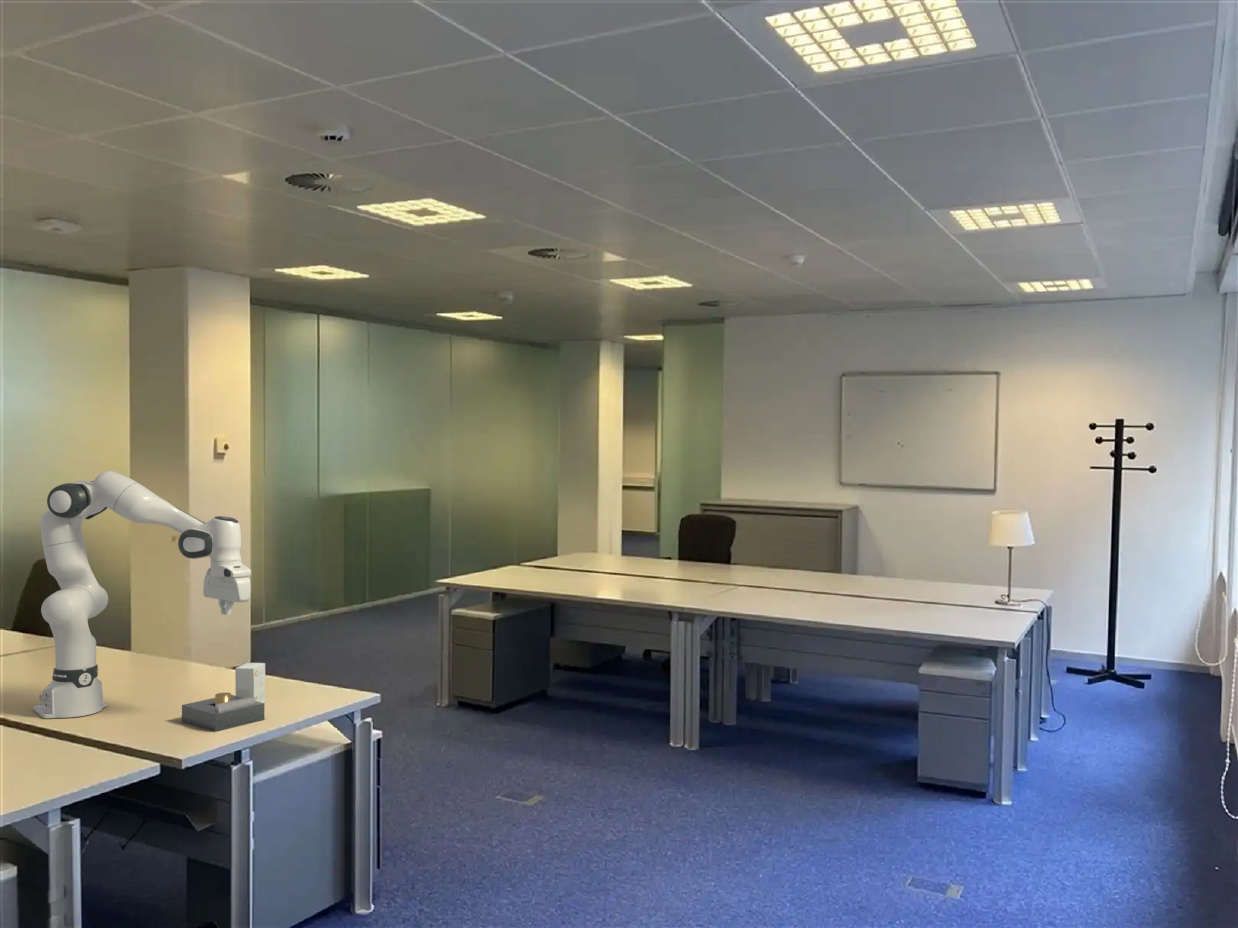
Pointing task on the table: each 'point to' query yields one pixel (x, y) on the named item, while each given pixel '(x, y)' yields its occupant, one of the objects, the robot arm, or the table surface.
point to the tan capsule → (222, 698)
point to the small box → (251, 681)
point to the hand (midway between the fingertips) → (226, 614)
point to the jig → (223, 713)
